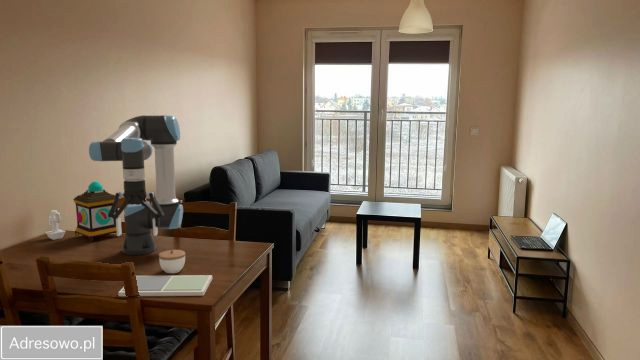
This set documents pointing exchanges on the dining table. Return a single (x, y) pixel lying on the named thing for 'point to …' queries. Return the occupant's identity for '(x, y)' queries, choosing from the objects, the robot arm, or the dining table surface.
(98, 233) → the decorative lantern
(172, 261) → the lidded jar
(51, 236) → the figurine
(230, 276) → the dining table surface
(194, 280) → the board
